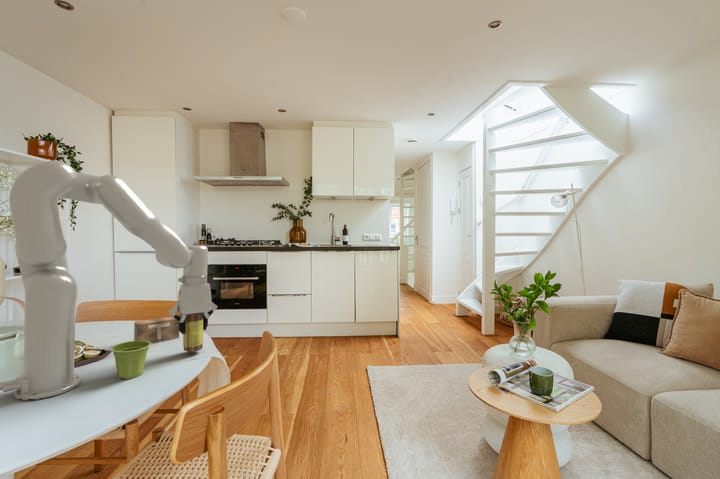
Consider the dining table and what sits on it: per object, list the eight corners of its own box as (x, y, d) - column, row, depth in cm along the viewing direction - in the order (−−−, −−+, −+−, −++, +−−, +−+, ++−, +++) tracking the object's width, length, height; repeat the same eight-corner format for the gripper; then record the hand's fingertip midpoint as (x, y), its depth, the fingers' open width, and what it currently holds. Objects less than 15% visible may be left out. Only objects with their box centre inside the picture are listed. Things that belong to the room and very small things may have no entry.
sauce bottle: (206, 347, 112) (208, 292, 112) (195, 353, 106) (198, 295, 106) (189, 345, 113) (191, 291, 113) (177, 351, 107) (180, 294, 107)
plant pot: (146, 365, 99) (147, 338, 99) (153, 375, 92) (153, 346, 92) (108, 373, 92) (109, 344, 92) (112, 385, 85) (113, 354, 85)
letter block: (136, 346, 114) (137, 324, 114) (133, 342, 118) (134, 321, 118) (179, 338, 124) (179, 318, 124) (175, 335, 128) (176, 315, 128)
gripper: (170, 283, 101) (168, 339, 101) (224, 279, 113) (222, 329, 113) (163, 280, 106) (162, 333, 106) (216, 277, 118) (214, 324, 118)
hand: (193, 330), depth 110 cm, fingers closed on sauce bottle, 6 cm apart
